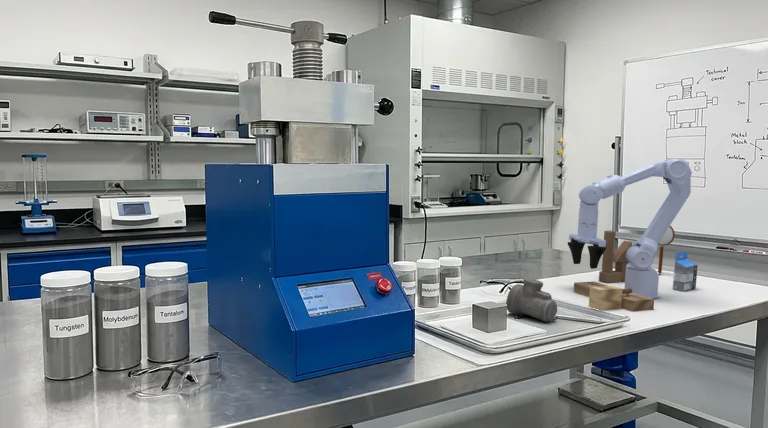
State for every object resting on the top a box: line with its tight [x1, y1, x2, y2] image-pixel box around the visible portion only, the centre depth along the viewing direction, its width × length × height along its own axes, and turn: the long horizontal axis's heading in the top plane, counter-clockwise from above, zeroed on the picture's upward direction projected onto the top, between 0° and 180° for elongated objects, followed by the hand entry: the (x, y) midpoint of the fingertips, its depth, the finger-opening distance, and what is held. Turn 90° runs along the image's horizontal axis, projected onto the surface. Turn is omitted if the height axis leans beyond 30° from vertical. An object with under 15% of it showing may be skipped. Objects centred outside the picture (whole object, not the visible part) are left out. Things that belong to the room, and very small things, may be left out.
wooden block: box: [598, 230, 633, 284], centre depth 196 cm, size 4×11×18 cm, turn 113°
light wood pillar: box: [588, 285, 632, 311], centre depth 160 cm, size 13×4×6 cm, turn 111°
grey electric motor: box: [505, 277, 558, 323], centre depth 146 cm, size 12×8×10 cm
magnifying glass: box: [657, 225, 676, 275], centre depth 211 cm, size 9×2×20 cm, turn 35°
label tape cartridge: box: [672, 251, 698, 292], centre depth 187 cm, size 9×4×12 cm, turn 128°
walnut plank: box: [573, 280, 655, 312], centre depth 169 cm, size 8×24×3 cm, turn 21°
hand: (584, 266), depth 178 cm, fingers open, 7 cm apart
